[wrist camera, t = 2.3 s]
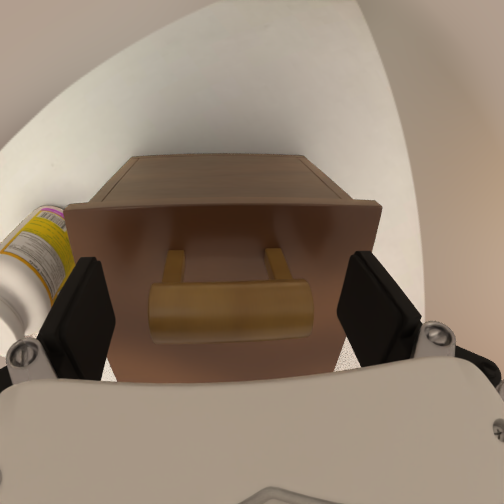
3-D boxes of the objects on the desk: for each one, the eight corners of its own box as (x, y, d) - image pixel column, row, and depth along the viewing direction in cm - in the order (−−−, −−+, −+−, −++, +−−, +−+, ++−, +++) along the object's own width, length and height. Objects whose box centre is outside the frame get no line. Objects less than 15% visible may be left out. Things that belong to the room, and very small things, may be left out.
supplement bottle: (44, 271, 26) (-10, 367, 15) (18, 213, 22) (-60, 297, 11) (97, 259, 26) (48, 367, 15) (71, 194, 23) (-9, 283, 12)
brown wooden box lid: (69, 203, 11) (8, 272, 7) (375, 199, 13) (443, 261, 9) (134, 405, 19) (127, 469, 15) (317, 397, 21) (335, 457, 16)
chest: (131, 156, 22) (72, 219, 12) (303, 155, 24) (371, 215, 14) (150, 304, 29) (134, 405, 19) (285, 300, 31) (317, 396, 21)
